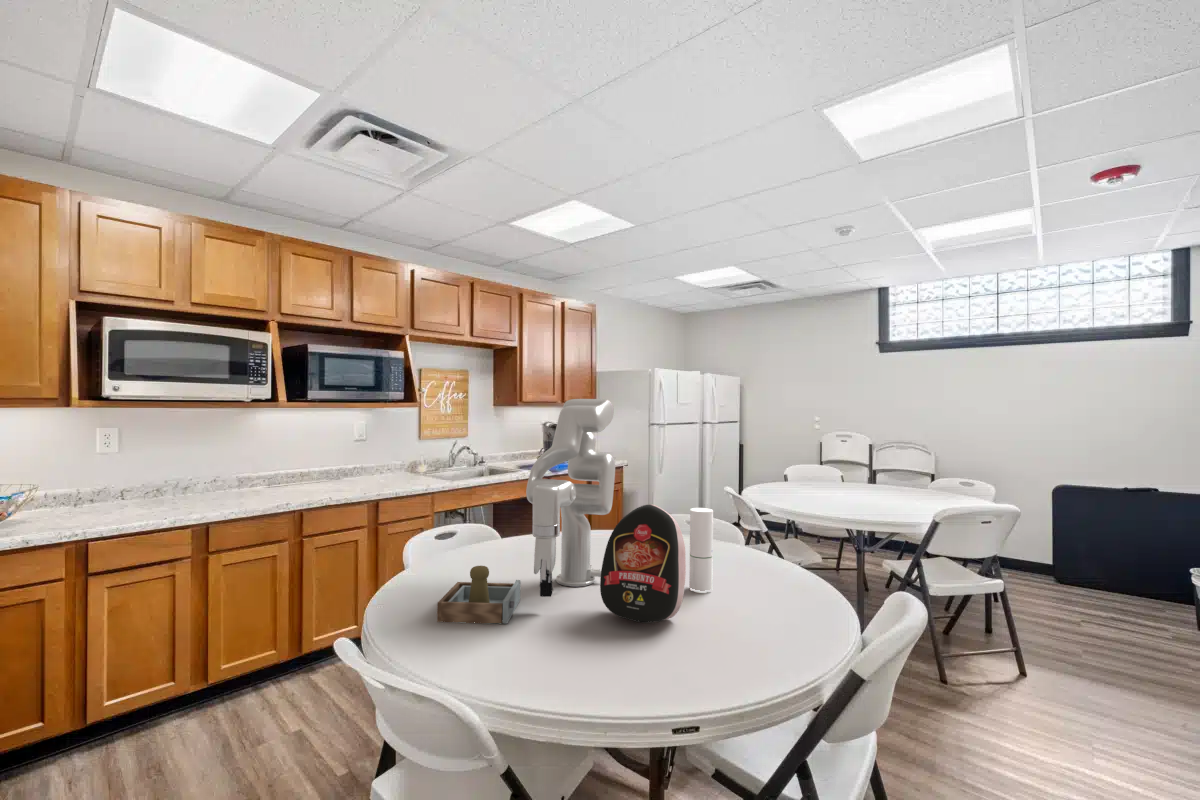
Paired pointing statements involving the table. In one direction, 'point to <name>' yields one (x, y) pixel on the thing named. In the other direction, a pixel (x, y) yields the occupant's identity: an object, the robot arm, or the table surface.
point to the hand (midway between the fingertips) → (546, 595)
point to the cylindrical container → (701, 549)
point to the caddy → (469, 608)
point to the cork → (479, 584)
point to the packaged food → (644, 566)
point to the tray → (495, 597)
